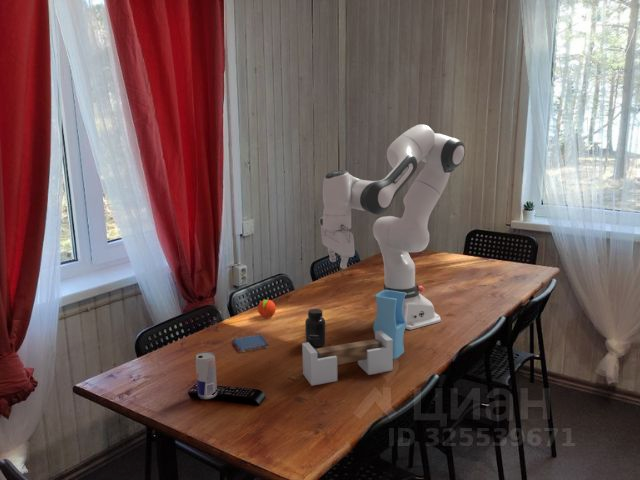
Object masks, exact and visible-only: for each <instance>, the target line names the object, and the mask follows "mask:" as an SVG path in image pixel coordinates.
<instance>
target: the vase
mask: <svg viewBox="0 0 640 480" xmlns="http://www.w3.org/2000/svg"><path fill="white" fill-rule="evenodd" d="M405 295H406V293H405V292H398V291H392V290H383V289H382V290H381V291H379V292H378V293H376V294H375V295H374V298H375V301H376V315H375V319H374V320H375V321H374V323H373V325H372V326H373V328H372V329H373V333H374V334H375V331H380V330H381V331H383V332H384V333H385V334H386V335H388V336H389V337H390V338H391V339H393V360H396V359H398V358H399V357H401V356H402V355H403V354H404V353H405V348H404V334H405V332H406V329H405V327H406V321H405V318H404V315H403V302H404V298H405Z"/></svg>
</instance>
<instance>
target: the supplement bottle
mask: <svg viewBox="0 0 640 480" xmlns="http://www.w3.org/2000/svg"><path fill="white" fill-rule="evenodd" d="M323 316H324V315H323V310H322V309H320V308H311V309H309V310H308V311H307V318H306V319H305V327H304V329H305V343H307V342H309V343H310V345H311V346H312V347H313V348H314V349H318V348H323V347H324V346H325V345H326V320H325V318H324V317H323Z"/></svg>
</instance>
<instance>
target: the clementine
mask: <svg viewBox="0 0 640 480" xmlns="http://www.w3.org/2000/svg"><path fill="white" fill-rule="evenodd" d="M276 308H277V307H276V305H275V303H274V302H273V301H272V300H271V299H263V300H261V301H260V302H259V303H258V306H257V311H258V312H257V313H258V314H259V315H260V316H261V317H263V318H271V317H272V316H274V315H275V314H276V310H277V309H276Z"/></svg>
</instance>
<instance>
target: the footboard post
mask: <svg viewBox="0 0 640 480" xmlns="http://www.w3.org/2000/svg"><path fill="white" fill-rule="evenodd" d="M301 348H302V349H301V350H302V374H303V376H304V377H305V379H306V380H307V381H308V383H309V384H310V386H316V385H317V386H319V385H322V384H329V383H333V382H337V381H338V365H337V357H336V356H330V357H324V358H319V359H318V358H317V352H316V350H315V349H316V348H313V347H312V346H311V345H310V343H309V342H307V343H306V342H302V343H301Z"/></svg>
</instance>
